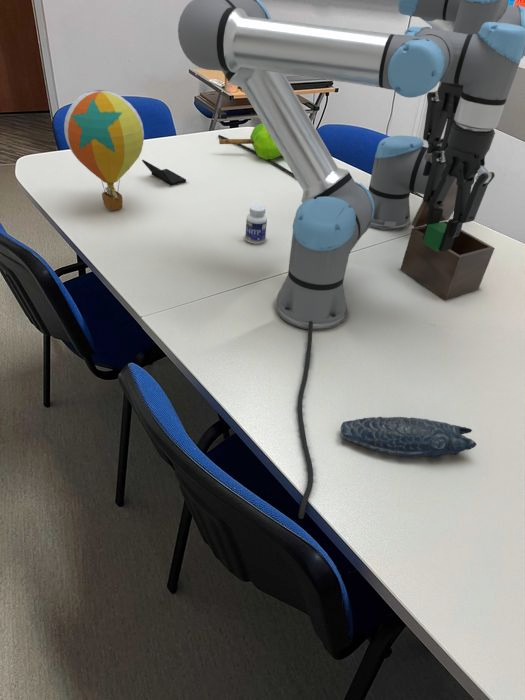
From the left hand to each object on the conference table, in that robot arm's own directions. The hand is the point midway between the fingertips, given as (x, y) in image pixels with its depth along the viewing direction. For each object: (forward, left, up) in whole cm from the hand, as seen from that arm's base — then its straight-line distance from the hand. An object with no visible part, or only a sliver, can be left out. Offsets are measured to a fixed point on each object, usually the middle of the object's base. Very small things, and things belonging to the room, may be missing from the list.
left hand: (436, 244), depth 107 cm
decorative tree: (+88, +50, -16) cm, 102 cm away
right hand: (+23, 0, +6) cm, 24 cm away
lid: (+19, -3, +4) cm, 19 cm away
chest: (+15, -7, -16) cm, 22 cm away
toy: (+29, +82, -16) cm, 88 cm away
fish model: (-42, +6, -16) cm, 45 cm away
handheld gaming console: (+54, +75, -16) cm, 94 cm away
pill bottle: (+22, +41, -16) cm, 49 cm away
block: (0, 0, 0) cm, 0 cm away
